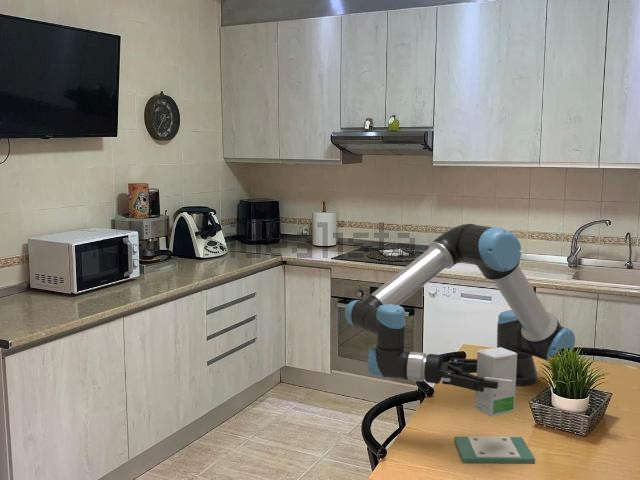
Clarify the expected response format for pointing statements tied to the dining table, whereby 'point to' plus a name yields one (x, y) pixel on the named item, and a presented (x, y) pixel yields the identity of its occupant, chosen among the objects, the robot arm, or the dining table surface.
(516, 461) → the board
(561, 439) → the dining table surface
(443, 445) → the dining table surface
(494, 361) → the skincare box
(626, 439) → the dining table surface
